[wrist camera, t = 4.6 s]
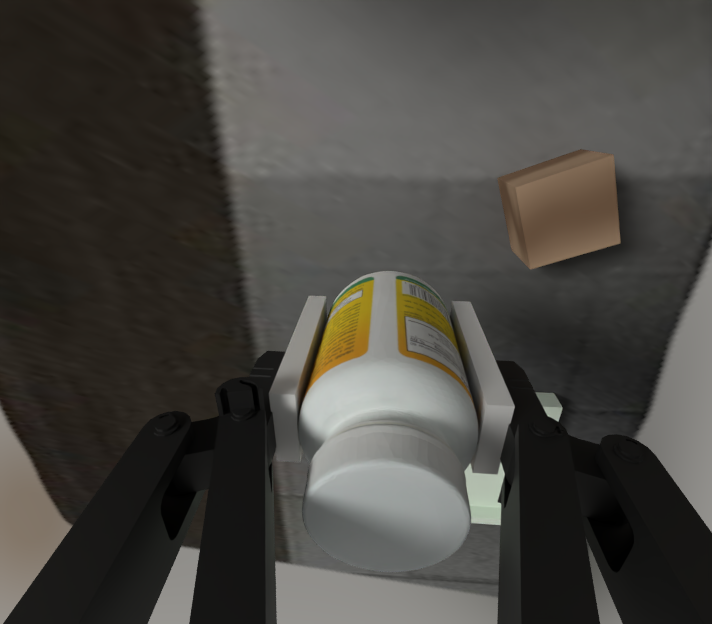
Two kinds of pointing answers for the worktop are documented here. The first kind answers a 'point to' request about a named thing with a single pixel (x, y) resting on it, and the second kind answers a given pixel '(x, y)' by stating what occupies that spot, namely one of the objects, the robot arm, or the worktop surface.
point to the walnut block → (561, 207)
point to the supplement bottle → (388, 429)
